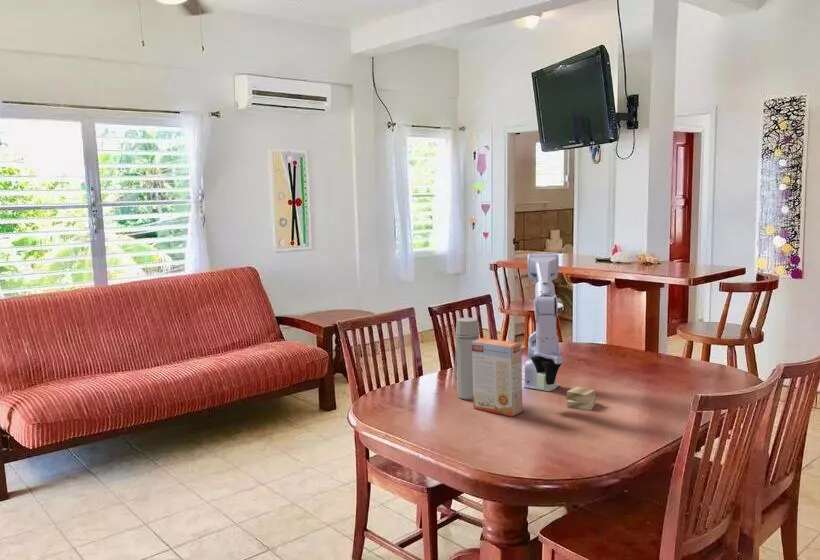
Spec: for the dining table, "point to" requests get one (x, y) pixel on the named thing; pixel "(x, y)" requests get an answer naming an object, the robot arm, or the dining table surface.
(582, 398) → the beech slab top
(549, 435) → the dining table surface
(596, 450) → the dining table surface
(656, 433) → the dining table surface
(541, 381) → the sage cube
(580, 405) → the beech slab bottom
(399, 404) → the dining table surface
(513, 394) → the cracker box
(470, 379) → the water bottle
